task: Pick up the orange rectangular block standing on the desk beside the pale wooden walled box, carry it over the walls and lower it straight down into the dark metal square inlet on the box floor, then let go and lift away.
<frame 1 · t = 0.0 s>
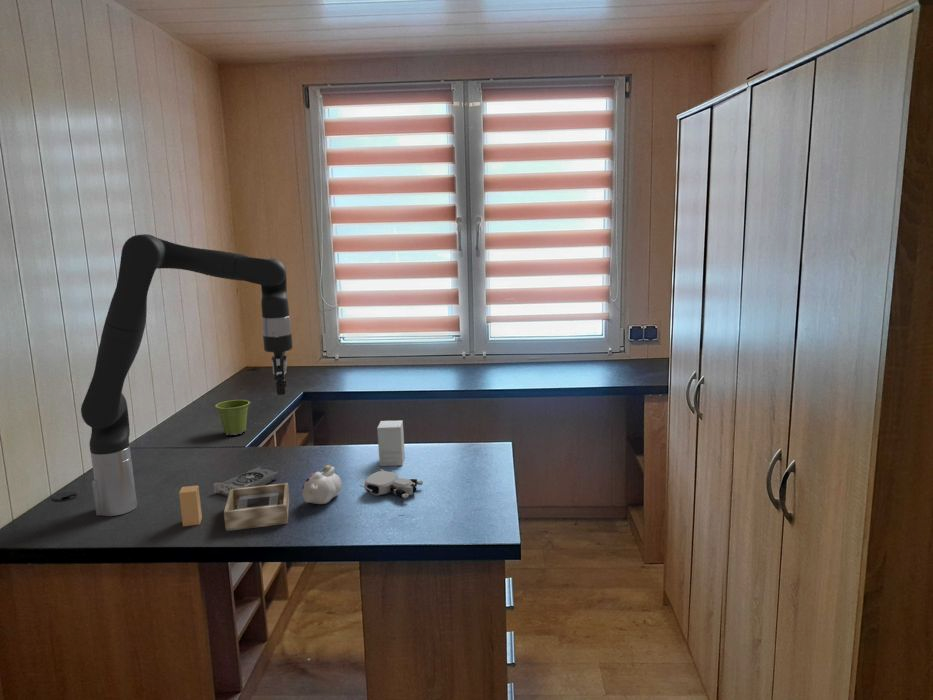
hand: (281, 390, 185), 29 cm above the worktop, tool pointing down, fingers open, 8 cm apart
supplement box: (392, 462, 211), on the worktop
walled box: (259, 514, 175), on the worktop
plant pot: (235, 434, 243), on the worktop
orange rectangular block: (192, 522, 172), on the worktop
robot toy: (392, 493, 187), on the worktop
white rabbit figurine: (323, 501, 183), on the worktop
graphics card: (251, 488, 194), on the worktop
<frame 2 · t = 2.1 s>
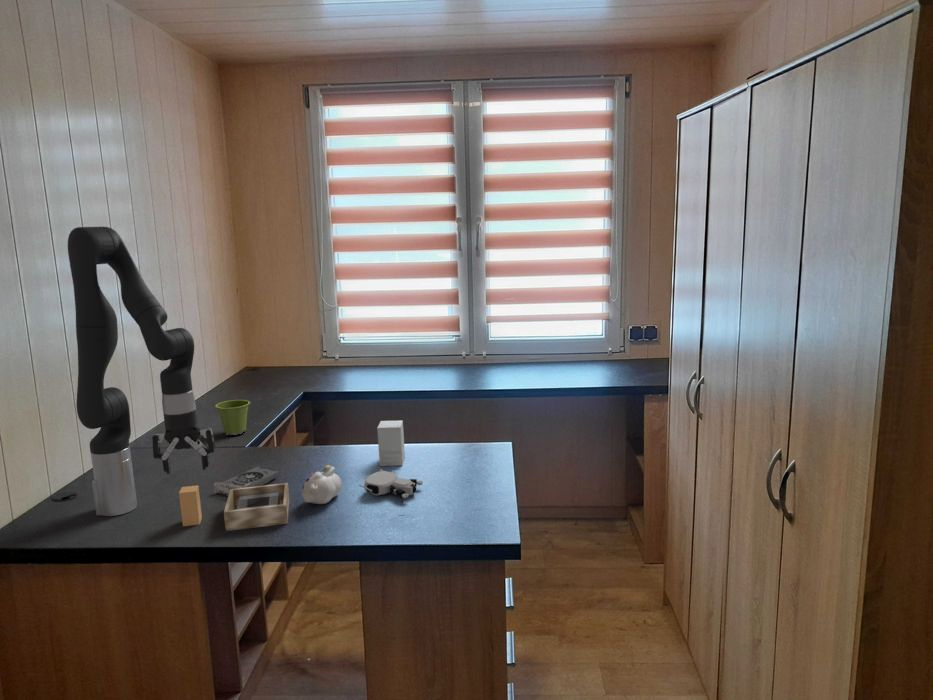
hand: (187, 470, 169), 14 cm above the worktop, tool pointing down, fingers open, 8 cm apart
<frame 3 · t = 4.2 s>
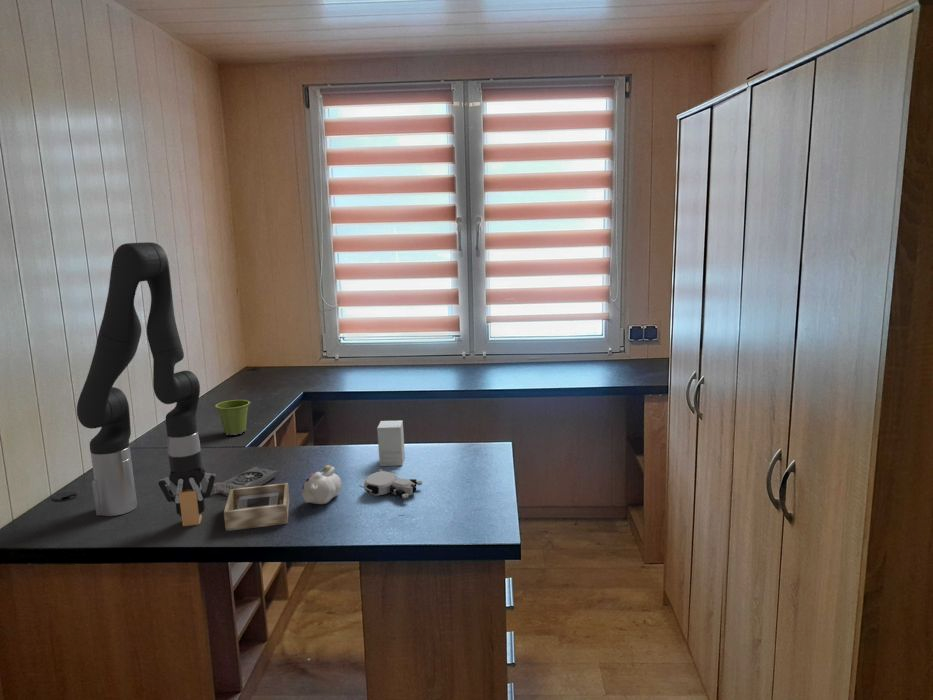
hand: (191, 513, 171), 2 cm above the worktop, tool pointing down, fingers closed on orange rectangular block, 4 cm apart
orange rectangular block: (192, 521, 172), on the worktop, touching gripper
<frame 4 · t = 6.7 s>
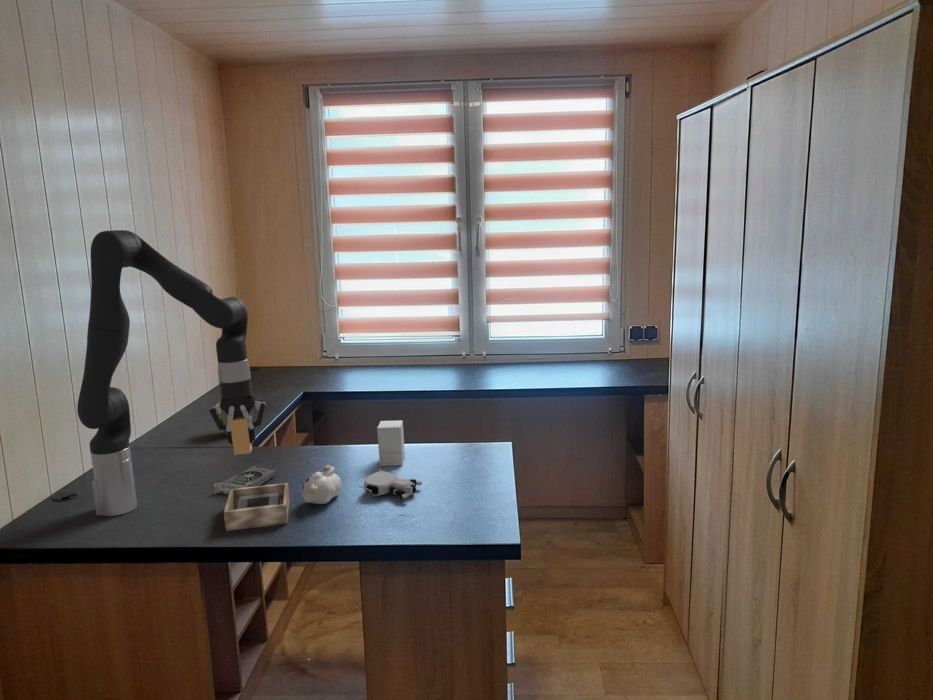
hand: (242, 443, 170), 20 cm above the worktop, tool pointing down, fingers closed on orange rectangular block, 4 cm apart
orange rectangular block: (243, 451, 170), point 18 cm above the worktop, touching gripper
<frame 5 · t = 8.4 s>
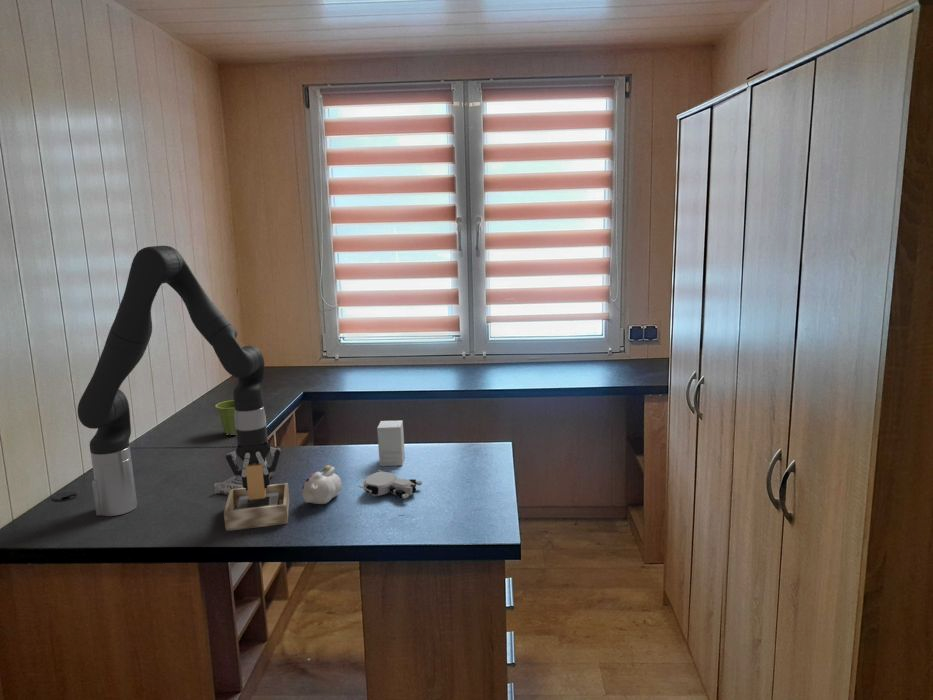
hand: (256, 487, 173), 8 cm above the worktop, tool pointing down, fingers closed on orange rectangular block, 4 cm apart
orange rectangular block: (257, 496, 174), point 5 cm above the worktop, touching gripper
when the fingers open (4 cm above the worktop, at t = 9.5 s): orange rectangular block drops 1 cm, resting on walled box.
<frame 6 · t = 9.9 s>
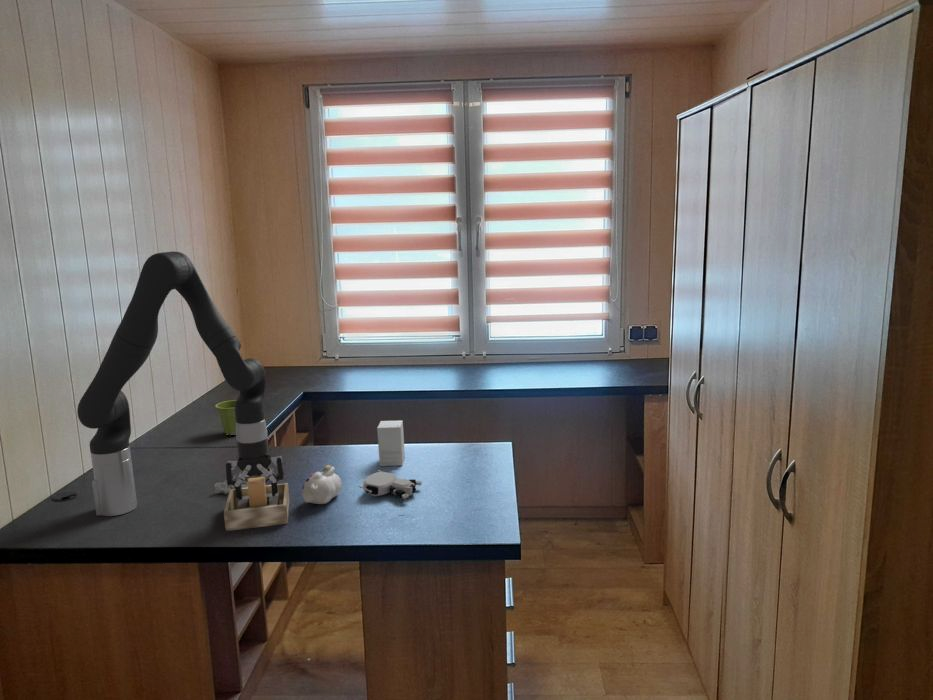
hand: (257, 496, 174), 5 cm above the worktop, tool pointing down, fingers open, 8 cm apart
orange rectangular block: (259, 512, 175), point 1 cm above the worktop, touching walled box
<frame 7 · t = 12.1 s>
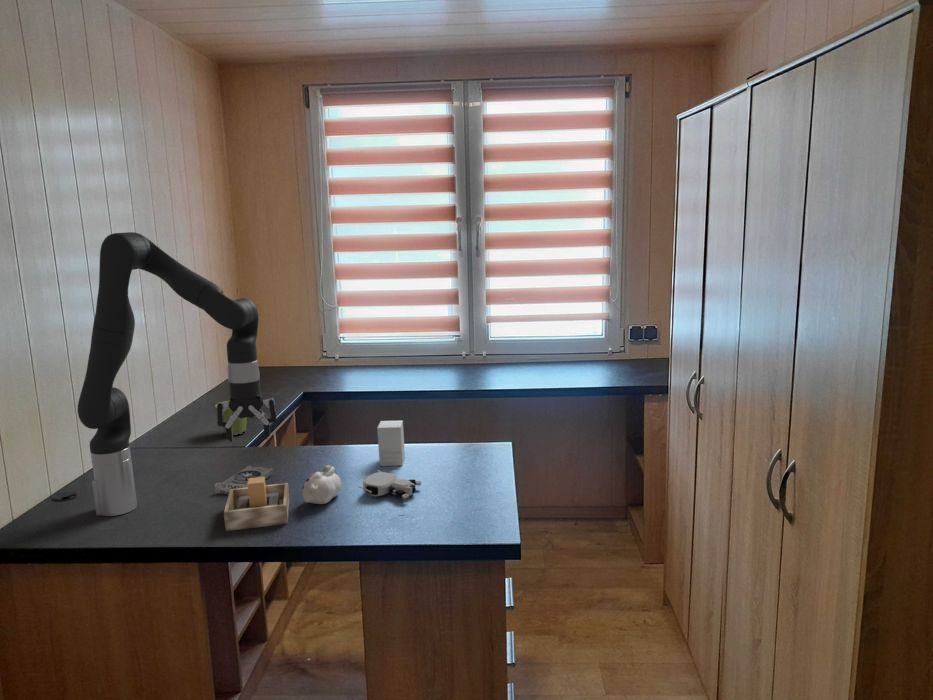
hand: (249, 439, 172), 20 cm above the worktop, tool pointing down, fingers open, 8 cm apart
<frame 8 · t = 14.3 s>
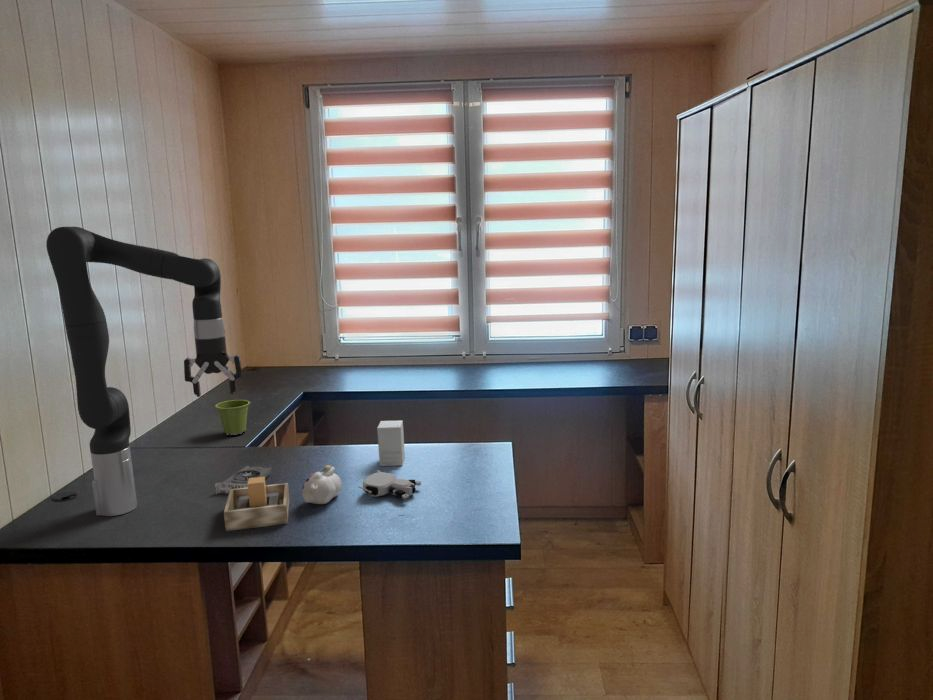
hand: (215, 394, 179), 30 cm above the worktop, tool pointing down, fingers open, 8 cm apart
at the end: orange rectangular block 0.1 cm off-centre on the walled box, point 0.6 cm above the walled box's base; orange rectangular block tilted 0°; the gripper is holding nothing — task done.
